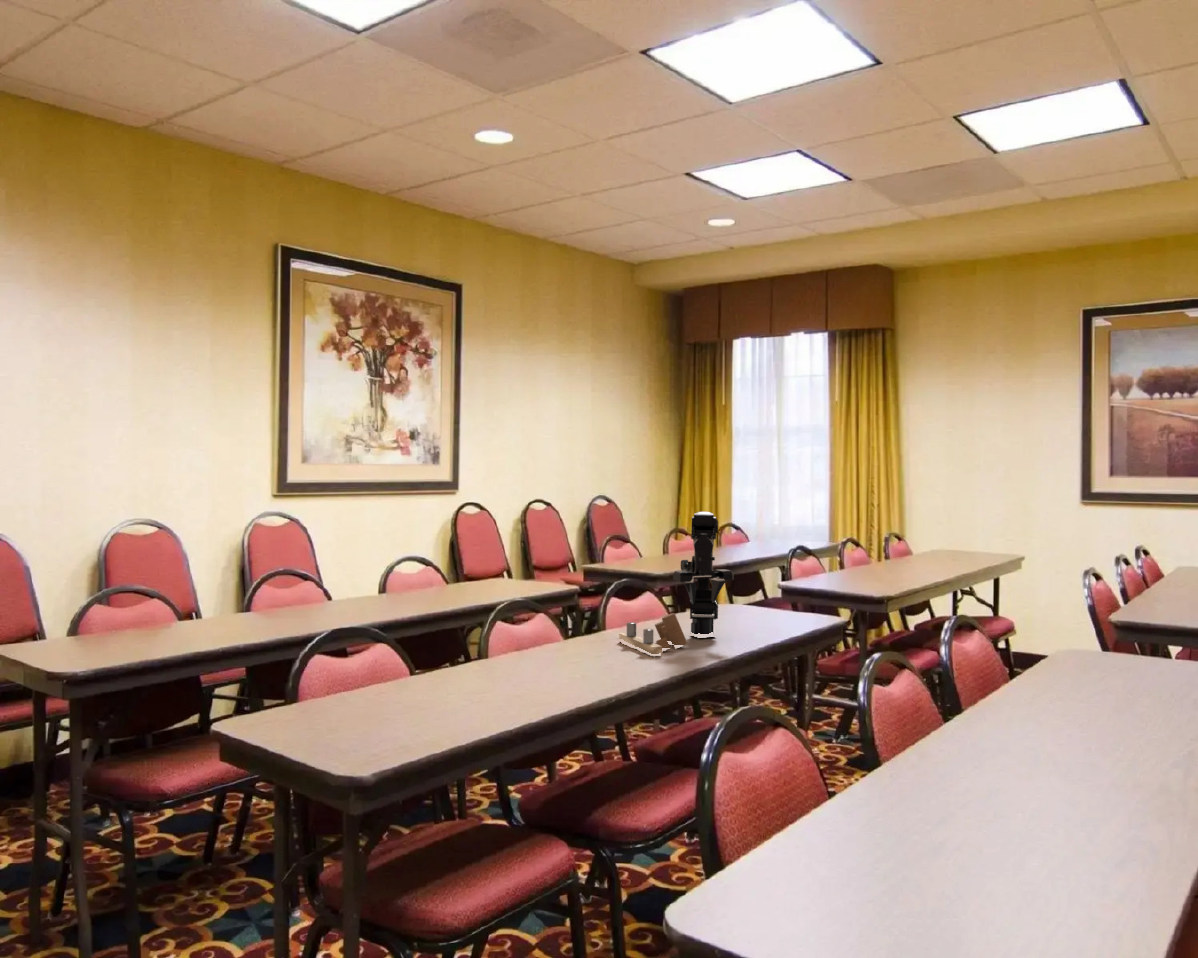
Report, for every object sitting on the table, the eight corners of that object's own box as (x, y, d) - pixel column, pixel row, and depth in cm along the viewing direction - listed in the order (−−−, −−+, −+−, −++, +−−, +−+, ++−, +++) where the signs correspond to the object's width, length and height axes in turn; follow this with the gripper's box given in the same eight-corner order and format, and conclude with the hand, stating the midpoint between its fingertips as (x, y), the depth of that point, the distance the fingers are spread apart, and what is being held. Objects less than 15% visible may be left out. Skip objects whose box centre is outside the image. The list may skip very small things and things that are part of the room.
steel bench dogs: (633, 644, 289) (633, 622, 289) (654, 653, 275) (655, 630, 275) (624, 645, 288) (625, 622, 288) (645, 654, 274) (646, 630, 274)
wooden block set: (658, 649, 295) (646, 619, 295) (683, 638, 295) (671, 608, 295) (663, 658, 277) (650, 626, 277) (690, 647, 277) (676, 615, 277)
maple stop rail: (627, 641, 293) (627, 632, 293) (661, 656, 271) (661, 646, 271) (619, 642, 292) (619, 633, 292) (652, 657, 270) (652, 646, 270)
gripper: (716, 550, 301) (716, 598, 301) (665, 551, 293) (664, 601, 294) (734, 553, 290) (734, 603, 290) (681, 555, 283) (681, 606, 283)
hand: (703, 603), depth 290 cm, fingers open, 7 cm apart
